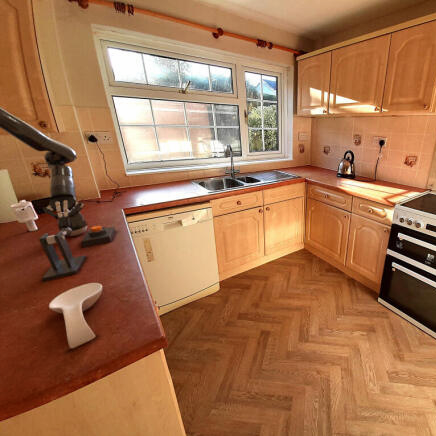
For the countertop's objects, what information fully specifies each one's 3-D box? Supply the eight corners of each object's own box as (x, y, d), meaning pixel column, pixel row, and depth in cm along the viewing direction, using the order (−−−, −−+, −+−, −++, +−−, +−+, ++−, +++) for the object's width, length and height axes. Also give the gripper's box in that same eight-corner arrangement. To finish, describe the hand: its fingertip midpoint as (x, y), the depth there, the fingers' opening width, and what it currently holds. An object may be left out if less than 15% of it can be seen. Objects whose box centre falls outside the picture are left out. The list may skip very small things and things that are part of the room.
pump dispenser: (62, 234, 117) (48, 204, 111) (88, 227, 123) (77, 199, 118) (62, 241, 110) (48, 209, 104) (91, 233, 116) (79, 203, 111)
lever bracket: (56, 263, 92) (40, 231, 87) (85, 257, 95) (72, 225, 90) (43, 281, 82) (24, 245, 77) (76, 273, 85) (61, 238, 80)
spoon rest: (54, 305, 71) (44, 284, 68) (103, 286, 78) (96, 268, 75) (52, 359, 54) (38, 336, 51) (115, 330, 61) (105, 308, 58)
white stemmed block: (45, 225, 128) (32, 198, 122) (39, 230, 122) (25, 202, 116) (27, 228, 125) (13, 201, 119) (20, 234, 119) (5, 205, 113)
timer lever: (64, 235, 96) (61, 227, 95) (74, 233, 97) (72, 225, 97) (46, 246, 83) (42, 236, 82) (58, 243, 84) (55, 234, 83)
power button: (93, 230, 110) (92, 226, 109) (103, 228, 112) (101, 224, 111) (91, 233, 107) (90, 229, 106) (101, 231, 109) (100, 227, 108)
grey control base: (90, 236, 114) (86, 227, 112) (115, 231, 118) (112, 223, 116) (83, 247, 104) (79, 237, 102) (111, 241, 108) (107, 232, 106)
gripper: (36, 186, 94) (37, 227, 89) (78, 181, 99) (81, 219, 94) (47, 196, 100) (48, 234, 95) (86, 190, 106) (90, 226, 100)
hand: (65, 226), depth 95 cm, fingers closed
